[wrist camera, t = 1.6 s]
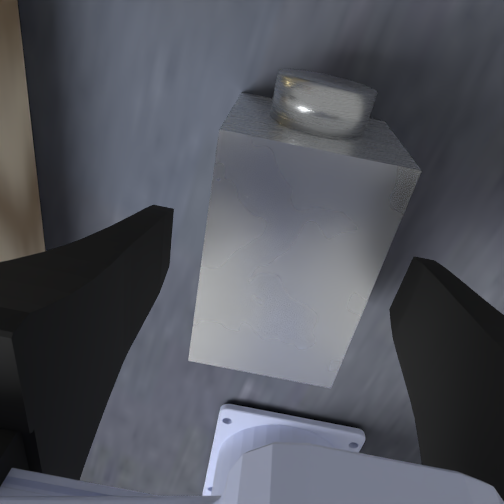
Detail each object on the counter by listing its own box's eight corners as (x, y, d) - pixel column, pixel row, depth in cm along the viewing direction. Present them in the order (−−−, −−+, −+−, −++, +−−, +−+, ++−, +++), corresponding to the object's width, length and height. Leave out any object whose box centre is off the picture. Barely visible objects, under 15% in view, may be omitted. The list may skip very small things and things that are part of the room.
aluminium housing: (322, 299, 18) (330, 388, 14) (213, 277, 18) (188, 360, 14) (396, 84, 14) (442, 121, 9) (248, 53, 14) (226, 76, 9)
